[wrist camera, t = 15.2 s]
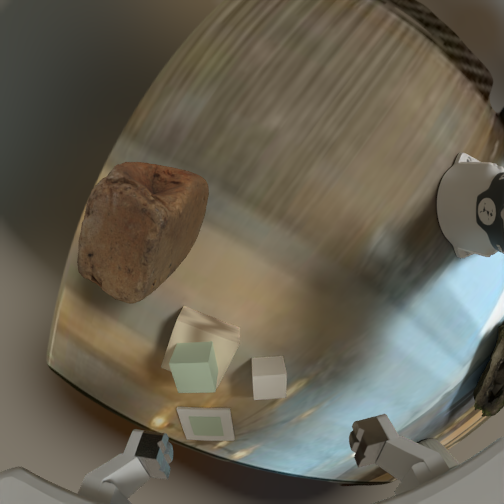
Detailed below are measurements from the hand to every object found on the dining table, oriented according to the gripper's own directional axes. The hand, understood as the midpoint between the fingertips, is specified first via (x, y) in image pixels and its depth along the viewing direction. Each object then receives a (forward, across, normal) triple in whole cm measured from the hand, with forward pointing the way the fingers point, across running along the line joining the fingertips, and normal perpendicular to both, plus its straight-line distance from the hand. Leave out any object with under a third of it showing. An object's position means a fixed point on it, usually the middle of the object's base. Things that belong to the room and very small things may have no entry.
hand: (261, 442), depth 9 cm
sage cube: (+24, +8, +12) cm, 28 cm away
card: (+29, +10, +32) cm, 44 cm away
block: (+29, +9, -8) cm, 32 cm away
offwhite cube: (+29, -2, +18) cm, 34 cm away
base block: (+30, +8, +12) cm, 33 cm away
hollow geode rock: (+29, -61, +30) cm, 74 cm away
